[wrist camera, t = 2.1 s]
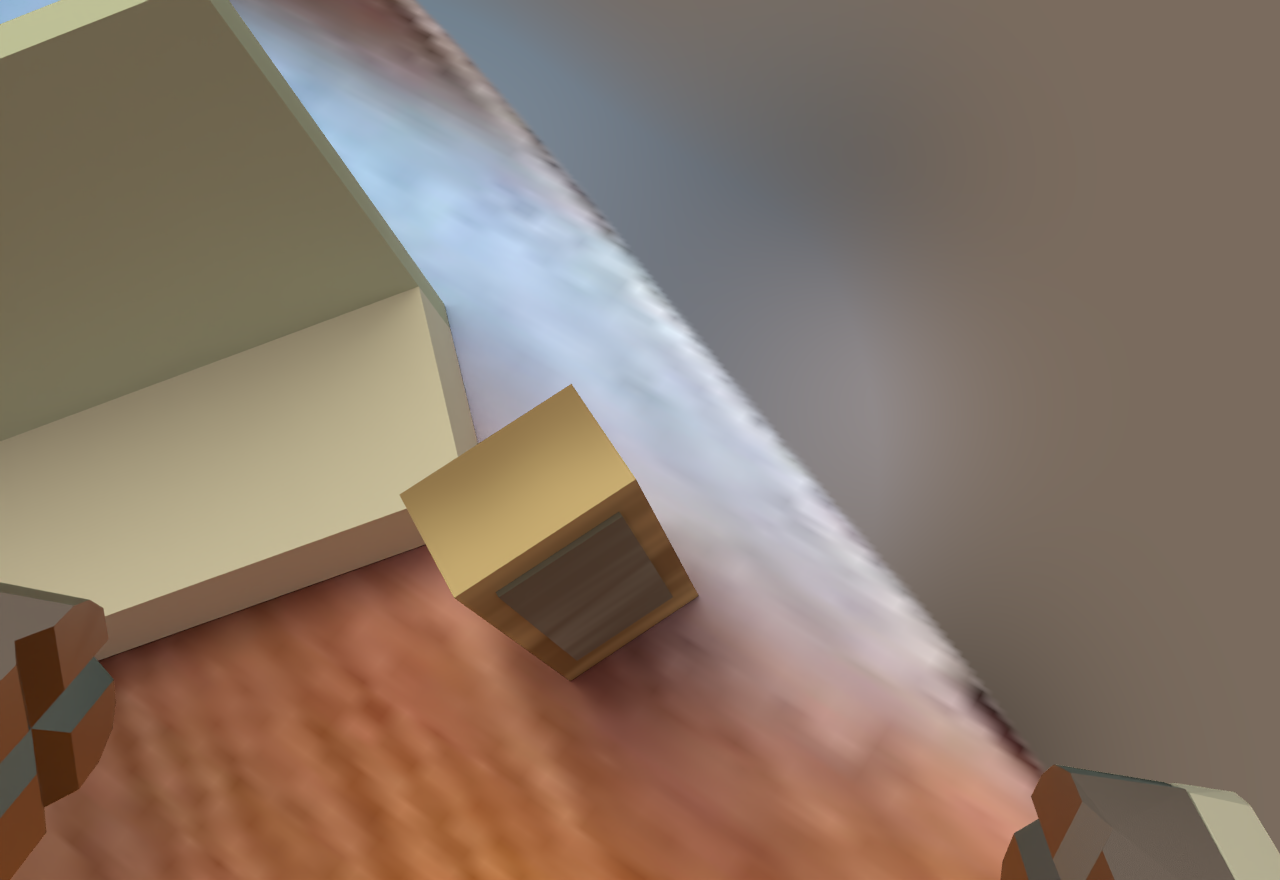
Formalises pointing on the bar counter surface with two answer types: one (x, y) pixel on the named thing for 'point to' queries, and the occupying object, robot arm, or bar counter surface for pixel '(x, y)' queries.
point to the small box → (551, 537)
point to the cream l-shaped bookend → (197, 327)
